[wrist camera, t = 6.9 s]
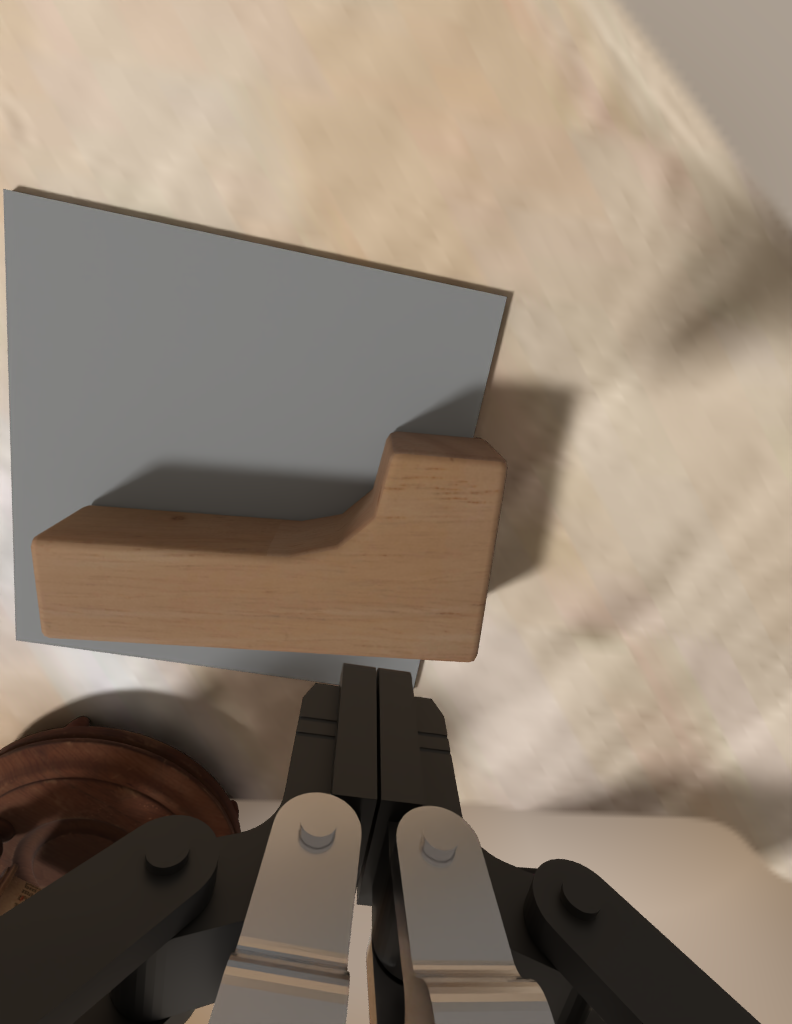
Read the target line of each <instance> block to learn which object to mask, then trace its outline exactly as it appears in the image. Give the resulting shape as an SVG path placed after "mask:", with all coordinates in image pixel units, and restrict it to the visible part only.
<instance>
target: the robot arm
mask: <svg viewBox="0 0 792 1024" xmlns="http://www.w3.org/2000/svg"><path fill="white" fill-rule="evenodd" d="M356 889H357V904H358V905H368V906H372V931H371V935H370V939H369V942H368V947H367V952H366V966H367V983H368V1001H369V1019H370V1024H761V1023H759V1022H758V1021H757V1020H756V1019H755V1018H754V1017H753V1016H752V1015H751V1014H750V1013H749V1012H747V1011H746V1010H745V1009H744V1008H743V1007H742V1006H741V1005H740V1004H739V1003H737V1001H735V1000H734V999H733V998H732V997H731V996H730V995H729V994H728V993H727V992H725V991H724V990H723V989H722V988H721V987H720V986H719V985H718V984H717V983H716V982H715V981H714V980H712V979H711V978H710V977H709V976H708V975H707V974H706V973H705V972H704V971H702V970H701V969H700V968H699V967H698V966H697V965H696V964H695V963H694V962H693V961H692V960H690V959H689V958H688V957H687V956H686V955H685V954H684V953H683V952H682V951H680V949H678V948H677V947H676V946H675V945H674V944H673V943H672V942H671V941H670V940H669V939H667V938H666V937H665V936H664V935H663V934H662V933H661V932H660V931H659V930H658V929H656V928H655V927H654V926H653V925H652V924H651V923H650V922H649V921H648V920H647V919H646V918H644V917H643V916H642V915H641V914H640V913H639V912H638V911H637V910H636V909H635V908H633V907H632V906H631V905H630V904H629V903H628V902H627V901H626V900H625V899H624V898H623V897H621V896H620V895H619V894H618V893H617V892H616V891H615V890H614V889H613V888H612V887H610V886H609V885H608V884H607V883H606V882H605V881H604V880H603V879H602V878H601V877H599V876H598V875H597V874H596V873H594V872H593V871H591V870H590V869H588V868H587V867H585V866H583V865H581V864H579V863H576V862H573V861H569V860H565V859H555V860H550V861H547V862H545V863H543V864H542V865H541V866H540V867H539V868H538V869H537V870H536V872H535V874H532V873H529V872H527V871H524V870H522V869H520V868H517V867H515V866H513V865H510V864H508V863H505V862H503V861H501V860H499V859H497V858H495V857H494V856H492V855H491V854H489V853H488V852H487V851H486V850H484V849H483V848H482V847H481V846H480V842H479V840H478V837H477V835H476V833H475V832H474V830H473V829H472V828H471V826H470V825H469V824H468V823H467V822H466V821H465V820H464V819H463V817H462V813H461V807H460V802H459V796H458V791H457V785H456V780H455V774H454V769H453V763H452V758H451V755H450V747H449V741H448V739H447V730H446V725H445V719H444V716H443V714H442V713H441V712H440V710H439V709H438V707H437V706H436V704H435V703H434V702H433V700H432V699H428V698H421V697H414V693H413V684H412V676H411V672H406V671H399V670H392V669H385V668H378V669H377V671H376V667H370V666H363V665H356V664H349V663H343V666H342V671H341V676H340V681H339V686H333V685H326V684H318V683H315V685H314V686H313V687H312V688H311V689H310V690H309V691H308V692H307V694H306V695H305V696H304V697H303V700H302V705H301V710H300V716H299V721H298V726H297V731H296V736H295V742H294V747H293V752H292V757H291V762H290V767H289V773H288V778H287V783H286V788H285V793H284V797H283V801H282V803H281V805H280V807H279V808H278V810H277V811H276V812H275V813H274V814H273V815H272V816H271V817H270V818H269V819H268V820H267V821H265V822H264V823H263V824H261V825H259V826H257V827H256V828H253V829H251V830H248V831H245V832H241V833H237V834H231V835H226V836H221V837H216V835H215V833H214V832H213V830H212V829H211V828H210V827H209V826H208V825H207V824H205V823H204V822H203V821H201V820H199V819H197V818H194V817H191V816H185V815H170V816H164V817H160V818H156V819H154V820H152V821H149V822H147V823H145V824H143V825H142V826H140V827H138V828H137V829H135V830H134V831H132V832H130V833H129V834H127V835H126V836H124V837H123V838H121V839H120V840H118V841H116V842H115V843H113V844H112V845H110V846H109V847H107V848H106V849H104V850H102V851H101V852H99V853H98V854H96V855H95V856H93V857H92V858H90V859H88V860H87V861H85V862H84V863H82V864H81V865H79V866H78V867H76V868H74V869H73V870H71V871H70V872H68V873H67V874H65V875H64V876H62V877H60V878H59V879H57V880H56V881H54V882H53V883H51V884H50V885H48V886H46V887H45V888H43V889H42V890H40V891H39V892H37V893H36V894H34V895H32V896H31V897H29V898H28V899H26V900H25V901H23V902H22V903H20V904H18V905H17V906H15V907H14V908H12V909H11V910H9V911H8V912H6V913H4V914H3V915H1V916H0V1024H184V1023H185V1022H186V1021H187V1020H188V1019H189V1017H190V1016H191V1015H192V1013H193V1012H194V1010H195V1009H196V1008H200V1007H203V1006H206V1005H209V1004H212V1003H215V1004H214V1007H213V1010H212V1014H211V1017H210V1020H209V1024H346V1017H347V1007H348V996H349V981H350V974H349V972H348V971H347V966H348V954H349V945H350V936H351V926H352V918H353V908H354V899H355V893H356ZM602 1019H603V1020H602Z"/></svg>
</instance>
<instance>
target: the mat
mask: <svg viewBox="0 0 792 1024" xmlns="http://www.w3.org/2000/svg"><path fill="white" fill-rule="evenodd" d="M3 192H4V228H5V264H6V300H7V336H8V372H9V408H10V444H11V479H12V515H13V551H14V587H15V623H16V640H18V641H25V642H32V643H40V644H47V645H54V646H61V647H69V648H76V649H83V650H90V651H98V652H105V653H112V654H119V655H127V656H134V657H141V658H148V659H156V660H163V661H170V662H177V663H184V664H192V665H199V666H206V667H213V668H221V669H228V670H235V671H242V672H250V673H257V674H264V675H271V676H279V677H286V678H293V679H300V680H308V681H315V682H322V683H329V684H336V685H339V681H340V676H341V671H342V666H343V663H349V664H356V665H363V666H370V667H376V671H377V669H378V668H385V669H392V670H399V671H406V672H411V676H412V684H413V688H414V684H415V680H416V676H417V671H418V667H419V663H420V659H403V658H385V657H368V656H351V655H334V654H317V653H300V652H283V651H266V650H248V649H231V648H214V647H196V646H179V645H162V644H144V643H127V642H110V641H92V640H75V639H58V638H48V637H46V636H44V634H43V633H42V630H41V622H40V615H39V607H38V599H37V591H36V583H35V576H34V568H33V560H32V552H31V544H32V540H33V538H34V537H35V536H37V535H38V534H40V533H42V532H43V531H45V530H47V529H48V528H50V527H51V526H53V525H55V524H56V523H58V522H60V521H61V520H63V519H65V518H66V517H68V516H70V515H71V514H73V513H74V512H76V511H78V510H79V509H81V508H83V507H86V506H89V505H93V506H106V507H120V508H133V509H147V510H161V511H174V512H188V513H201V514H215V515H228V516H242V517H256V518H269V519H283V520H296V521H305V520H311V519H316V518H322V517H328V516H333V515H339V514H343V513H344V512H345V511H346V510H348V509H349V508H350V507H351V506H352V505H354V504H355V503H356V502H357V501H359V500H360V499H361V498H362V497H363V496H365V495H366V494H367V493H368V492H370V491H371V490H372V489H373V487H374V483H375V479H376V475H377V472H378V468H379V464H380V461H381V457H382V453H383V450H384V446H385V442H386V439H387V438H388V436H389V435H390V433H393V432H396V431H400V432H411V433H423V434H434V435H446V436H457V437H469V438H473V437H474V433H475V429H476V425H477V420H478V416H479V412H480V408H481V404H482V399H483V395H484V391H485V387H486V383H487V379H488V374H489V370H490V366H491V362H492V358H493V353H494V349H495V345H496V341H497V337H498V333H499V328H500V324H501V320H502V316H503V312H504V307H505V303H506V299H507V297H505V296H500V295H496V294H491V293H486V292H482V291H477V290H472V289H468V288H463V287H458V286H454V285H449V284H444V283H440V282H435V281H430V280H426V279H421V278H416V277H412V276H407V275H402V274H398V273H393V272H388V271H384V270H379V269H374V268H370V267H365V266H360V265H356V264H351V263H346V262H342V261H337V260H332V259H328V258H323V257H318V256H314V255H309V254H304V253H300V252H295V251H290V250H286V249H281V248H276V247H272V246H267V245H262V244H258V243H253V242H248V241H244V240H239V239H235V238H230V237H225V236H221V235H216V234H211V233H207V232H202V231H197V230H193V229H188V228H183V227H179V226H174V225H169V224H165V223H160V222H155V221H151V220H146V219H141V218H137V217H132V216H127V215H123V214H118V213H113V212H109V211H104V210H99V209H95V208H90V207H85V206H81V205H76V204H71V203H67V202H62V201H57V200H53V199H48V198H43V197H39V196H34V195H29V194H25V193H20V192H15V191H11V190H6V189H3Z"/></svg>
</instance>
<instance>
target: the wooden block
mask: <svg viewBox="0 0 792 1024" xmlns="http://www.w3.org/2000/svg"><path fill="white" fill-rule="evenodd" d="M506 474H507V464H506V460H505V459H504V458H503V457H502V456H501V455H499V454H498V453H497V452H496V451H495V450H494V449H493V448H492V447H491V446H490V445H489V444H488V443H487V442H486V441H484V440H482V439H480V438H469V437H457V436H446V435H434V434H423V433H411V432H400V431H396V432H393V433H390V435H389V436H388V438H387V439H386V442H385V446H384V450H383V453H382V457H381V461H380V464H379V468H378V472H377V475H376V479H375V483H374V487H373V489H372V490H371V491H370V492H368V493H367V494H366V495H365V496H363V497H362V498H361V499H360V500H359V501H357V502H356V503H355V504H354V505H352V506H351V507H350V508H349V509H348V510H346V511H345V512H344V513H343V514H339V515H333V516H328V517H322V518H316V519H311V520H305V521H296V520H283V519H269V518H256V517H242V516H228V515H215V514H201V513H188V512H174V511H161V510H147V509H133V508H120V507H106V506H93V505H89V506H86V507H83V508H81V509H79V510H78V511H76V512H74V513H73V514H71V515H70V516H68V517H66V518H65V519H63V520H61V521H60V522H58V523H56V524H55V525H53V526H51V527H50V528H48V529H47V530H45V531H43V532H42V533H40V534H38V535H37V536H35V537H34V538H33V540H32V544H31V552H32V560H33V568H34V576H35V583H36V591H37V599H38V607H39V615H40V622H41V630H42V633H43V634H44V636H46V637H48V638H58V639H75V640H92V641H110V642H127V643H144V644H162V645H179V646H196V647H214V648H231V649H248V650H266V651H283V652H300V653H317V654H334V655H351V656H368V657H385V658H403V659H421V660H438V661H456V662H471V661H474V660H475V658H476V656H477V654H478V648H479V642H480V635H481V629H482V623H483V617H484V610H485V604H486V598H487V592H488V586H489V579H490V573H491V567H492V561H493V555H494V548H495V542H496V536H497V530H498V524H499V518H500V511H501V505H502V499H503V493H504V487H505V481H506Z"/></svg>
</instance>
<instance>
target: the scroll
mask: <svg viewBox="0 0 792 1024" xmlns="http://www.w3.org/2000/svg"><path fill="white" fill-rule="evenodd" d="M89 723H90V721H89V719H88V718H87V717H85V716H81V717H79V718H77V719H75V720H73V721H72V722H71V723H69V724H68V725H67V726H66V727H63V728H56V729H50V730H46V731H42V732H38V733H35V734H32V735H29V736H26V737H24V738H21V739H19V740H17V741H14V742H13V743H11V744H9V745H7V746H5V747H4V748H2V749H1V750H0V916H1V915H3V914H4V913H6V912H8V911H9V910H11V909H12V908H14V907H15V906H17V905H18V904H20V903H22V902H23V901H25V900H26V899H28V898H29V897H31V896H32V895H34V894H36V893H37V892H39V891H40V890H42V889H43V888H45V887H46V886H48V885H50V884H51V883H53V882H54V881H56V880H57V879H59V878H60V877H62V876H64V875H65V874H67V873H68V872H70V871H71V870H73V869H74V868H76V867H78V866H79V865H81V864H82V863H84V862H85V861H87V860H88V859H90V858H92V857H93V856H95V855H96V854H98V853H99V852H101V851H102V850H104V849H106V848H107V847H109V846H110V845H112V844H113V843H115V842H116V841H118V840H120V839H121V838H123V837H124V836H126V835H127V834H129V833H130V832H132V831H134V830H135V829H137V828H138V827H140V826H142V825H143V824H145V823H147V822H149V821H152V820H154V819H156V818H160V817H164V816H170V815H185V816H191V817H194V818H197V819H199V820H201V821H203V822H204V823H205V824H207V825H208V826H209V827H210V828H211V829H212V830H213V832H214V833H215V835H216V837H221V836H226V835H231V834H237V833H241V830H240V824H239V820H238V817H239V814H238V813H239V810H238V805H237V802H235V801H234V800H231V801H230V799H229V797H228V796H227V794H226V793H225V791H224V790H223V788H222V787H221V786H220V784H219V783H218V782H217V781H216V780H215V779H214V778H213V777H212V775H211V774H209V773H208V772H207V771H206V770H205V769H204V768H203V767H202V766H201V765H199V764H198V763H197V762H195V761H194V760H193V759H191V758H190V757H188V756H187V755H185V754H184V753H182V752H180V751H179V750H177V749H175V748H173V747H171V746H169V745H167V744H165V743H163V742H160V741H158V740H156V739H153V738H150V737H147V736H144V735H141V734H138V733H134V732H130V731H126V730H120V729H115V728H107V727H97V726H89Z"/></svg>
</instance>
